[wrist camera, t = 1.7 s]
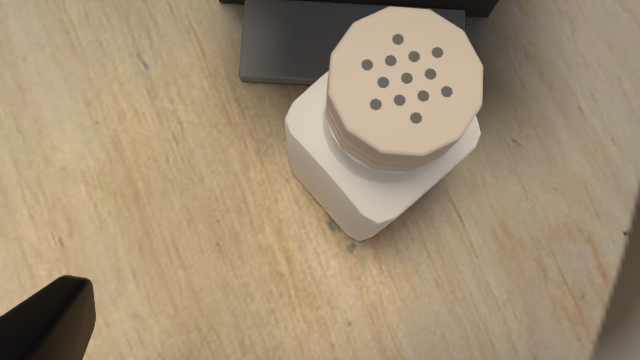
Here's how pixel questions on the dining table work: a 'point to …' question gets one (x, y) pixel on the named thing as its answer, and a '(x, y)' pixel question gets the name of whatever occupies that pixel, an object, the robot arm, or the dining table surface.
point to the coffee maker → (318, 32)
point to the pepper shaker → (386, 117)
